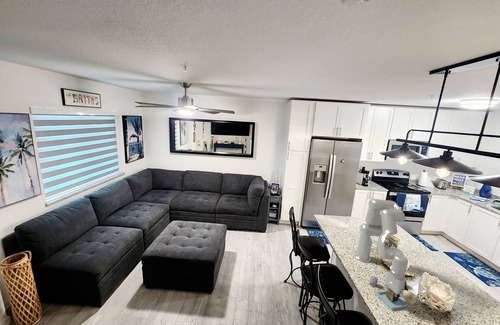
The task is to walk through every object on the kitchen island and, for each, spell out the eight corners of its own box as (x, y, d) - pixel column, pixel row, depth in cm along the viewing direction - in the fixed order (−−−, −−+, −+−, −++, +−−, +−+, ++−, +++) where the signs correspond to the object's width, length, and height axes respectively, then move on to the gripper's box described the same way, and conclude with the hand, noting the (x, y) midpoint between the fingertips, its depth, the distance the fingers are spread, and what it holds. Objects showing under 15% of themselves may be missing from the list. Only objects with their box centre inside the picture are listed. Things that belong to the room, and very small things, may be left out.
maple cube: (403, 299, 138) (404, 292, 137) (407, 296, 141) (408, 290, 140) (411, 305, 134) (413, 298, 133) (415, 302, 136) (417, 296, 135)
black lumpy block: (394, 278, 157) (395, 273, 157) (405, 281, 155) (406, 276, 154) (399, 290, 146) (400, 285, 145) (411, 294, 144) (413, 288, 143)
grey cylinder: (368, 282, 151) (369, 276, 150) (373, 281, 152) (374, 276, 151) (372, 287, 147) (374, 281, 146) (378, 286, 148) (379, 280, 147)
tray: (376, 294, 141) (376, 292, 140) (390, 292, 143) (391, 290, 143) (391, 310, 129) (391, 307, 129) (406, 307, 132) (407, 305, 132)
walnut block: (385, 295, 138) (387, 288, 136) (391, 294, 139) (393, 287, 138) (391, 301, 133) (393, 293, 132) (397, 300, 134) (399, 292, 133)
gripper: (381, 265, 139) (376, 288, 143) (404, 284, 123) (398, 309, 127) (390, 264, 141) (385, 287, 145) (414, 283, 125) (408, 308, 129)
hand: (391, 297), depth 136 cm, fingers closed on walnut block, 4 cm apart
